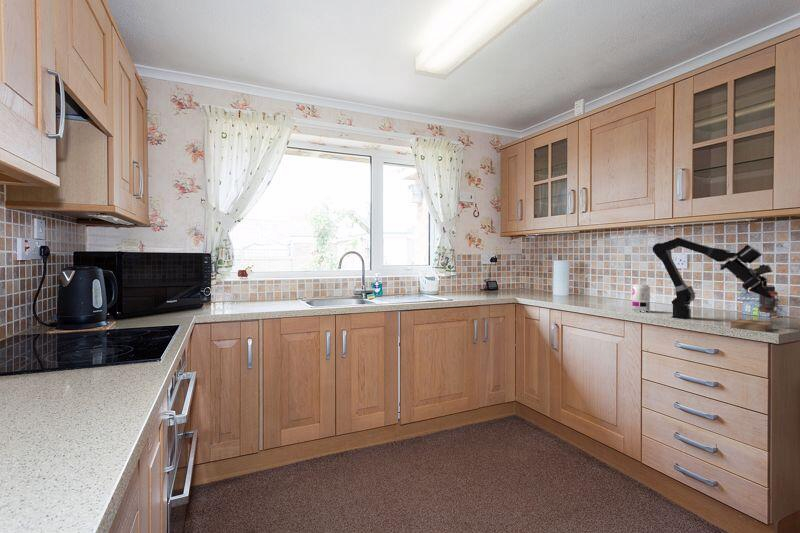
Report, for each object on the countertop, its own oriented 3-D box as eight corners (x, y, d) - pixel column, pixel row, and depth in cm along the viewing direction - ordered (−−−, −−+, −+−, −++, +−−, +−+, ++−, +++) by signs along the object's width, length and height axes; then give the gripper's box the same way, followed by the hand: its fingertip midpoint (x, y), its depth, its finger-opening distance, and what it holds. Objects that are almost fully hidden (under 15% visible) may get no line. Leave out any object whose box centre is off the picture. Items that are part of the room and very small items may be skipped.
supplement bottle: (780, 313, 169) (781, 287, 169) (764, 313, 170) (765, 286, 170) (770, 311, 175) (771, 285, 174) (755, 311, 176) (756, 285, 176)
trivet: (730, 327, 170) (731, 321, 170) (739, 325, 177) (739, 319, 177) (765, 331, 161) (765, 324, 161) (772, 328, 168) (772, 322, 168)
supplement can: (630, 311, 220) (631, 284, 219) (634, 310, 226) (634, 283, 226) (647, 312, 214) (648, 285, 214) (650, 311, 221) (651, 284, 220)
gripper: (753, 258, 169) (788, 286, 161) (761, 258, 181) (794, 284, 173) (728, 276, 175) (761, 303, 167) (738, 274, 187) (769, 300, 179)
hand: (772, 297), depth 171 cm, fingers closed on supplement bottle, 6 cm apart
